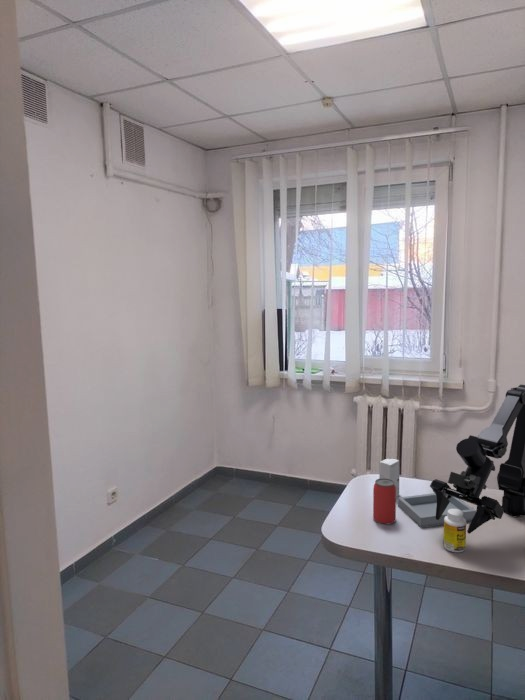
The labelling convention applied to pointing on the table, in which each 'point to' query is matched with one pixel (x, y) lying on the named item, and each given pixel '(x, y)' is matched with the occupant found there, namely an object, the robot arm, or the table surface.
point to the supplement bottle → (454, 531)
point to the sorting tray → (431, 509)
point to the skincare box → (390, 471)
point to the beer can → (384, 501)
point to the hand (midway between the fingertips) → (452, 525)
